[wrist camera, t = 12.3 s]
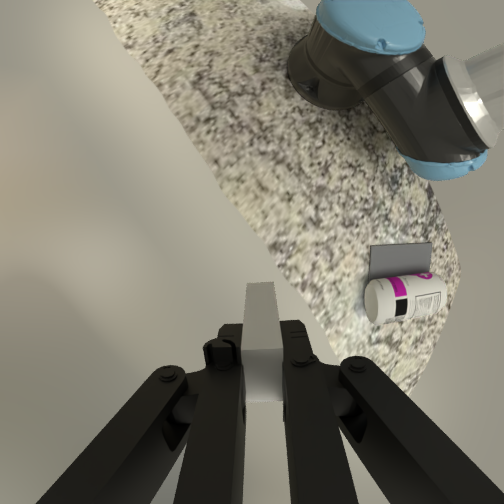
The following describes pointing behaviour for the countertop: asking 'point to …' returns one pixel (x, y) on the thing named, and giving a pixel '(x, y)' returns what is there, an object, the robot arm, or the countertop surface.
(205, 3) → the countertop surface
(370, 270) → the mat
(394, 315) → the supplement can
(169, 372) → the robot arm
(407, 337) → the countertop surface
